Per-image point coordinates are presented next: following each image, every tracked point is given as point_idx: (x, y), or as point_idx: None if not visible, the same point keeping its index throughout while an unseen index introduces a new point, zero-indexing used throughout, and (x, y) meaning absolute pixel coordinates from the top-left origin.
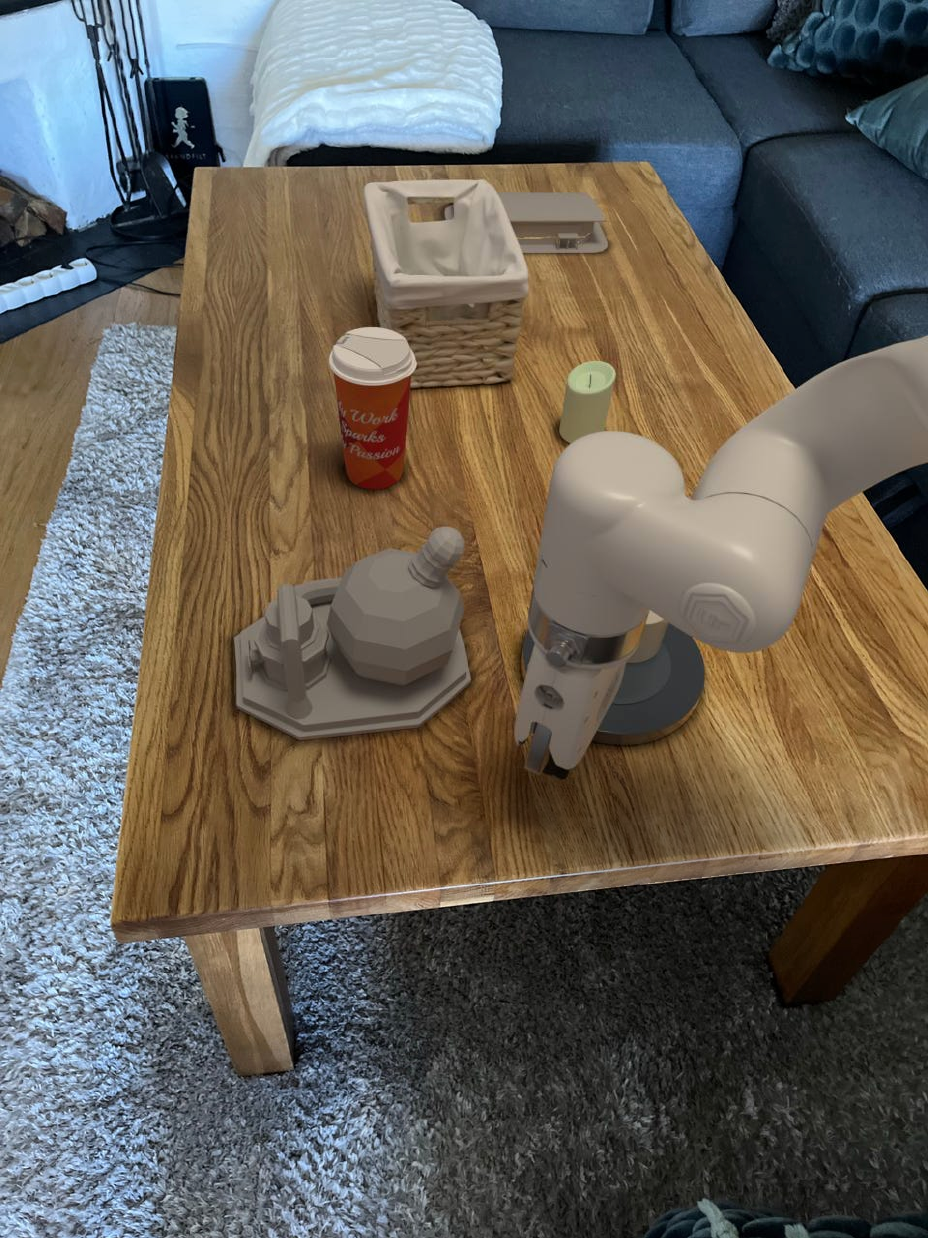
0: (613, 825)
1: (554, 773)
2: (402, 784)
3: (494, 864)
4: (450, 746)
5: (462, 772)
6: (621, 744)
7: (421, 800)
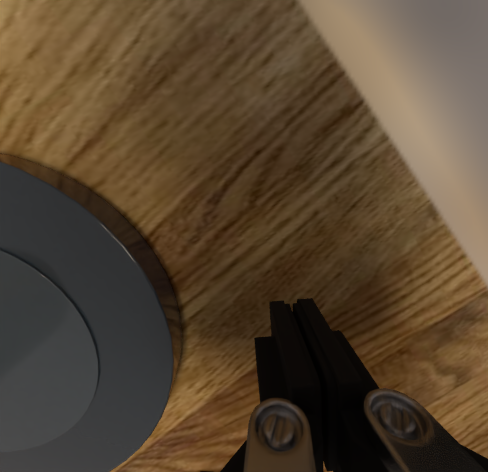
0: (312, 168)
1: (342, 335)
2: None
3: (472, 298)
4: None
5: None
6: (142, 238)
7: None
